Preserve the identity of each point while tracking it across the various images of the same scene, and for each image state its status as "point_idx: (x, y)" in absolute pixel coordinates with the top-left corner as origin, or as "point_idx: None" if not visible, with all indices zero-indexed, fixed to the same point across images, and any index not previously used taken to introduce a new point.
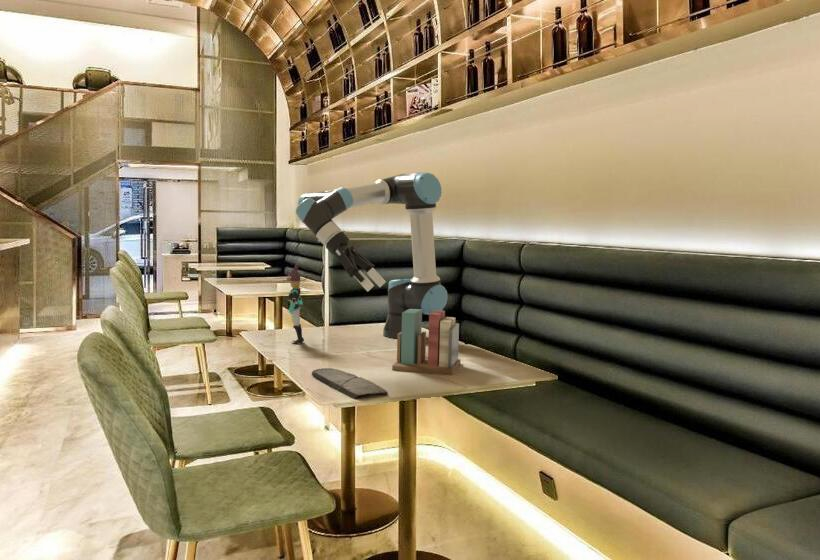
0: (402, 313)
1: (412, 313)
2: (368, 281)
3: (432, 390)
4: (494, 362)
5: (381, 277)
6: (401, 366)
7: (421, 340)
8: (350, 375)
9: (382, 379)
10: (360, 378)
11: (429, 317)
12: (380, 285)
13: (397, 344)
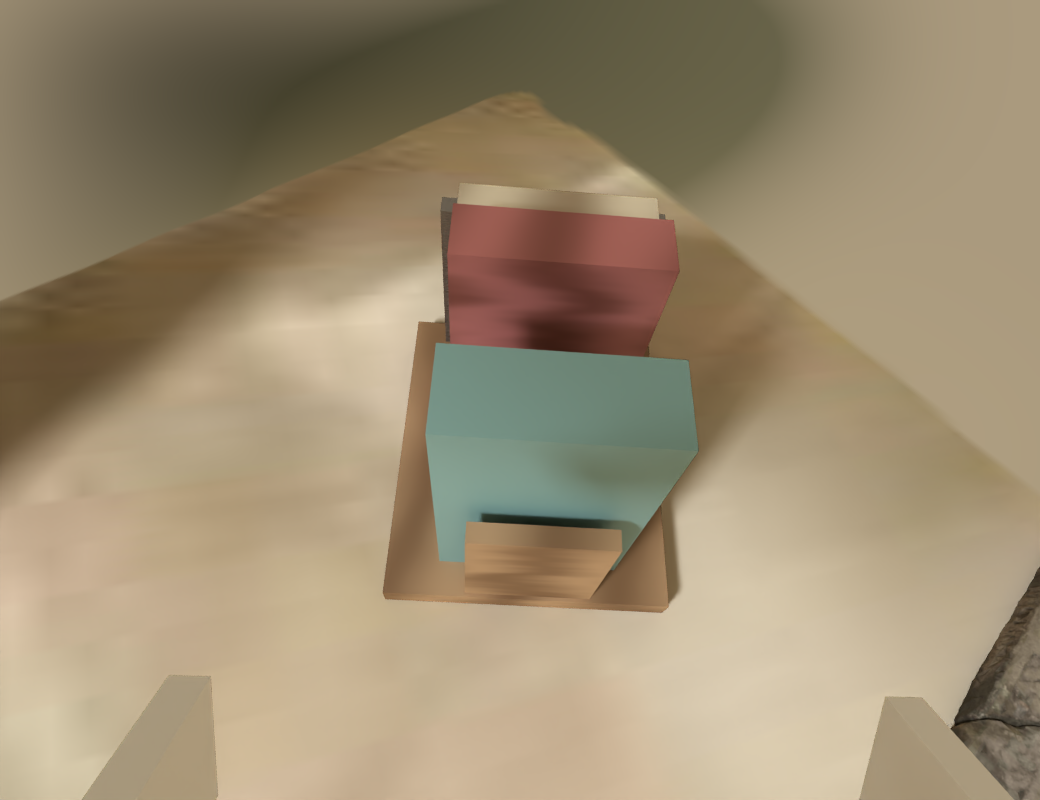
0: (695, 450)
1: (689, 375)
2: (994, 797)
3: (906, 387)
4: (356, 220)
5: (144, 763)
6: (664, 556)
7: None
8: (1004, 770)
9: (861, 613)
10: (1023, 693)
11: (673, 283)
12: (209, 781)
13: (609, 569)
